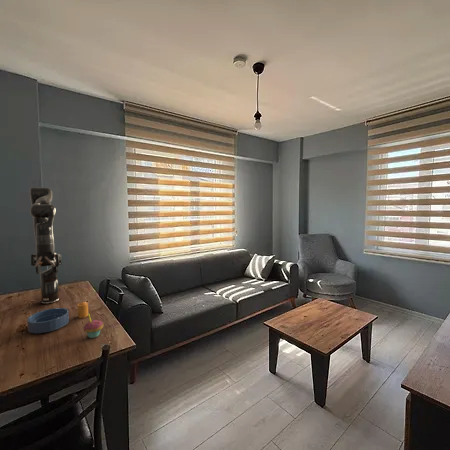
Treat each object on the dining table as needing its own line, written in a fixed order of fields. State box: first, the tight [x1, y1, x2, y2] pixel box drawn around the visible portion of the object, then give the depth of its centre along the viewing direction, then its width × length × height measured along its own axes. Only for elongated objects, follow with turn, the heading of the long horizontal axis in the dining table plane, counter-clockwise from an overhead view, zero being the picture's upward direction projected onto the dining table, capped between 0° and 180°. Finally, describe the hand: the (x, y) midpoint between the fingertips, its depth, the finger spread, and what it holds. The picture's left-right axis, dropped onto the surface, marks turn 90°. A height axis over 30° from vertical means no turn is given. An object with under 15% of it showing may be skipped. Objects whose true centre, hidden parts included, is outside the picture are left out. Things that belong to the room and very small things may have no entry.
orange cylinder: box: [77, 301, 89, 319], centre depth 141 cm, size 5×5×8 cm
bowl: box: [26, 307, 70, 334], centre depth 130 cm, size 18×18×6 cm
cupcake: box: [82, 312, 104, 339], centre depth 120 cm, size 9×8×12 cm
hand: (47, 273), depth 129 cm, fingers open, 8 cm apart
